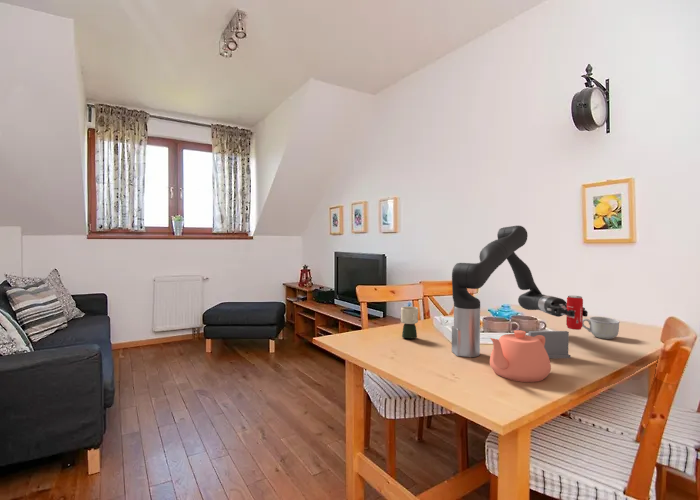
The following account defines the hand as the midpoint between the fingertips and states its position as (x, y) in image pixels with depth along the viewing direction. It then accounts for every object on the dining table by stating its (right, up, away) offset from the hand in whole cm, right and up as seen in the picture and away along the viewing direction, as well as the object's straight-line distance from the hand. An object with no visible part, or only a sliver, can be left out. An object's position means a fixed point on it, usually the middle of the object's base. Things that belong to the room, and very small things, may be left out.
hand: (580, 313), depth 139 cm
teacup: (+24, -14, +25) cm, 37 cm away
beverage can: (0, -6, +3) cm, 7 cm away
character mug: (-59, -14, +21) cm, 65 cm away
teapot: (-33, -15, -22) cm, 42 cm away
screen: (-14, -15, -4) cm, 21 cm away
